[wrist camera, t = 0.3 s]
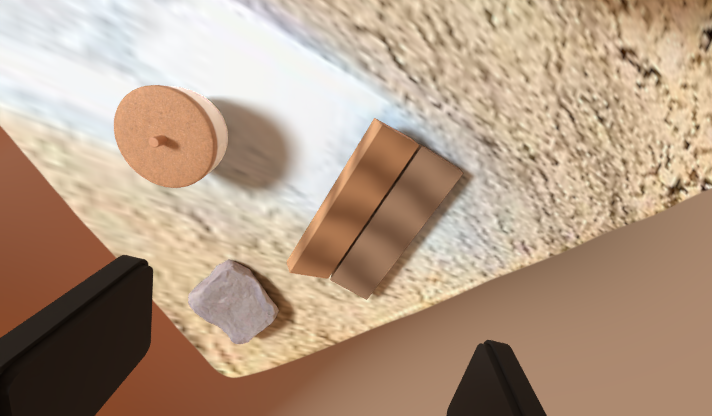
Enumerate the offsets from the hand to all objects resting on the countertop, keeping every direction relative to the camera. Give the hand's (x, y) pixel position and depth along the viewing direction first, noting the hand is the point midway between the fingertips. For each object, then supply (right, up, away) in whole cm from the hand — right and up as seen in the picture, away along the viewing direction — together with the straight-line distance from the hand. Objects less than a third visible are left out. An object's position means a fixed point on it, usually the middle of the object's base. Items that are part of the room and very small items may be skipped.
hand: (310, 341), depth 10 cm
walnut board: (+6, +2, +36) cm, 37 cm away
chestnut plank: (0, +4, +34) cm, 34 cm away
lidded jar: (-18, +14, +33) cm, 40 cm away
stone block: (-16, -9, +43) cm, 46 cm away
